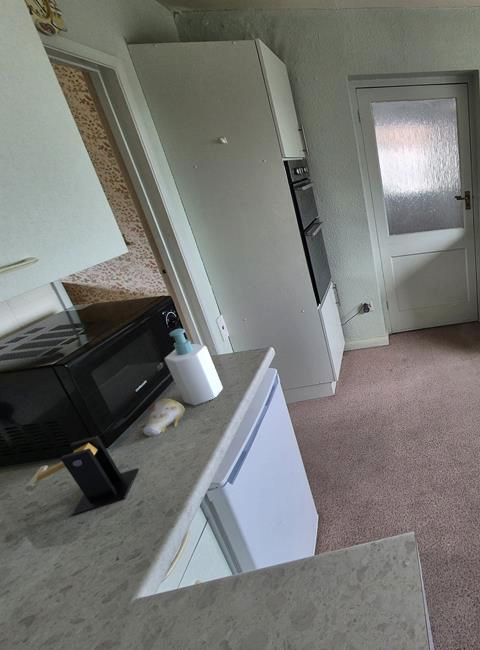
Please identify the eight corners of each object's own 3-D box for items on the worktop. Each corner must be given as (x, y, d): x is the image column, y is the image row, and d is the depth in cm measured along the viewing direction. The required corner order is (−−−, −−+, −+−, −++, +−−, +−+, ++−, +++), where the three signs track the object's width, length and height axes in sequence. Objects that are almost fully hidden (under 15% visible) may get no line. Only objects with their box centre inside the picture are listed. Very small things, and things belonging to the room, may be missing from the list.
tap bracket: (75, 519, 78) (39, 470, 73) (94, 487, 86) (63, 440, 80) (127, 502, 81) (97, 454, 76) (141, 472, 89) (114, 426, 83)
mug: (137, 443, 99) (132, 404, 100) (174, 432, 108) (169, 397, 109) (157, 439, 97) (152, 400, 98) (194, 429, 106) (189, 393, 107)
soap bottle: (221, 382, 122) (197, 320, 113) (224, 395, 115) (198, 331, 106) (184, 395, 117) (155, 331, 108) (184, 410, 110) (153, 343, 101)
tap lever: (31, 493, 75) (20, 486, 74) (46, 473, 80) (36, 466, 79) (89, 462, 77) (80, 455, 76) (101, 444, 82) (92, 437, 81)
